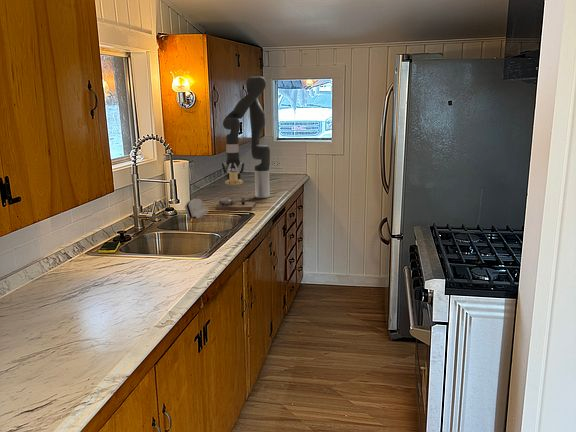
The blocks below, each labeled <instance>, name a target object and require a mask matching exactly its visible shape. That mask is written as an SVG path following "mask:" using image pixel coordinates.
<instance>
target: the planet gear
mask: <svg viewBox="0 0 576 432" xmlns="http://www.w3.org/2000/svg"><path fill="white" fill-rule="evenodd" d="M224 183H225V185H228V186H229V185H230V186H234V185H236V186H237V185H241V184H244V180H243V179H241V178H240V179H239V180H238V172H237V171H230V173H229V180H228V179H227V180H225V181H224Z"/></svg>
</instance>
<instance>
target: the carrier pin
mask: <svg viewBox="0 0 576 432" xmlns="http://www.w3.org/2000/svg"><path fill="white" fill-rule="evenodd" d="M245 199H246V197H245V196H244V197H243V196H242V197H241V202H242V205H245V202H246V200H245Z"/></svg>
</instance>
